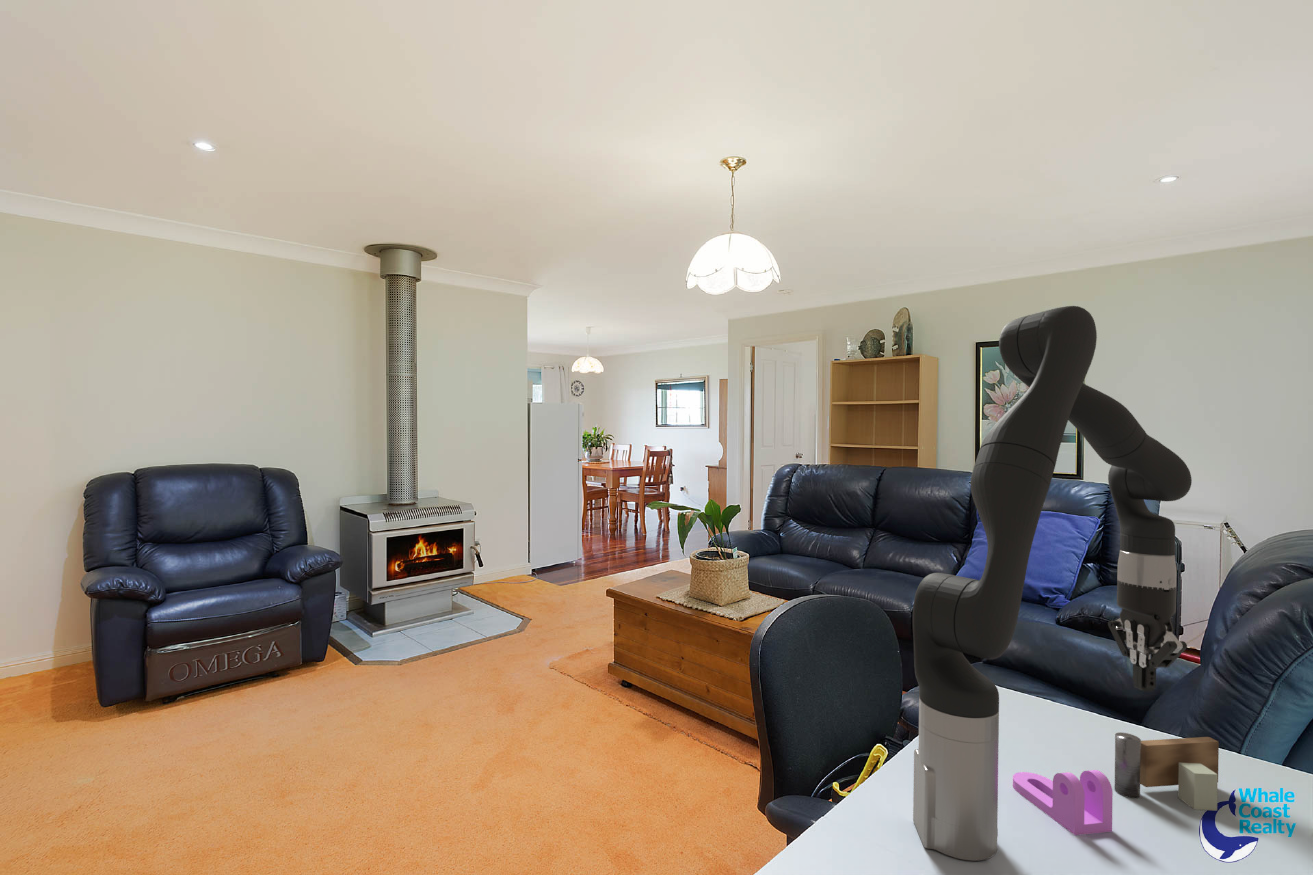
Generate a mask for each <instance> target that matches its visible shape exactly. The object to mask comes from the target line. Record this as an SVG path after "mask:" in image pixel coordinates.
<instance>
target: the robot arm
mask: <svg viewBox="0 0 1313 875" xmlns="http://www.w3.org/2000/svg"><path fill="white" fill-rule="evenodd" d="M1097 334H1098V333H1097V327H1096V322H1095V320H1094V318H1093V316H1092V313H1090V312H1089V311H1088V310H1087V309H1086V308H1083V307H1081V306H1078V305H1077V306H1076V305H1068V306H1066V305H1065V306H1062V307H1061V306H1060V307H1055V308H1051V309H1047V310H1045V311H1040V312H1035V313H1032V314H1028V315H1025V316H1022V317H1018V318H1015V319H1012V320H1011V321H1009V322H1008V323H1006V324H1005V325H1004V327H1003V328H1002V329H1001V332H1000V335H999V340H998V347H999V348H998V349H999V353H1000V356H1001V360H1002V361H1003V362H1004V365H1005V366H1006V367H1007V368H1008V370H1009V371H1010V372H1011V373H1012V374H1013V375H1014V376H1015V377H1016V378H1017V379H1019V381H1021V382H1022V383H1023V384H1025V385H1026V386H1027V388H1028V389H1027V390H1026V391H1025V393H1024V394H1022V396H1021V397H1020V399H1018V401H1017V402H1015V404H1014V405H1012V406H1011V407H1010V408H1009V409H1008V411H1006V412H1005V413H1004V414H1003V415H1002V416H1001V417H1000V418H999V420H998V421H996V423H995V424H994V425H993V426H992V427H991V429H990V430H989V431H988V432H987V434H986V435H985V436H984V438H983V440H982V442H981V444H980V447H979V451H978V454H977V456H976V460H975V462H974V466H973V469H972V472H971V476H970V484H969V486H970V492H971V493H970V494H971V496H972V499H973V503H974V506H975V509H976V510H977V514H978V516H979V518H980V521H981V523H982V526H983V529H984V532H985V536H986V541H987V553H986V559H985V560H986V561H985V564H984V569H983V571H982V572H983V573H982V575H981V578H980V579H975V578H969V577H965V576H959V575H954V574H949V573H943V572H933V573H930V574H928V575H926V576H925V577H923V579H922V580H920V583H919V585H918V586H917V589H916V591H915V594H914V598H913V603H912V604H913V606H912V633H913V635H912V636H913V638H912V639H913V660H914V661H913V662H914V665H913V666H914V674H915V679H916V681H917V684H918V695H919V697H918V699H919V700H918V749H914V751H913V793H912V794H913V798H912V800H913V801H912V802H913V807H912V811H913V812H912V813H913V814H912V820H913V823H914V826H915V828H916V831H917V833H918V836H919V838H920V840H921V843H922V845H923V847H924V848H925V849H928V850H929V849H932V850H935V851H938V852H940V853H942V854H944V855H945V856H948V857H951V858H955V859H959V860H962V861H963V860H964V861H984V860H988V859H990V858H992V857H994V855H996V853H997V851H998V837H999V834H998V833H999V832H998V831H999V830H998V815H999V813H998V812H999V810H998V809H999V808H998V806H999V798H998V797H999V746H1000V745H999V736H1000V729H999V728H1000V693H999V689H998V687H997V685H996V684H995V683H994V682H993V681H992V680H991V679H990V678H989V677H987V676H986V675H984V674H983V673H982V672H980V671H979V670H978V669H977V668H976V667H974V666H973V664H971V663H970V661H969V660H968V659H967V658H966V656H965V655H964V654H966V655H969V656H973V657H977V658H981V659H985V660H996V659H998V658H1000V657H1002V655H1003V654H1004V653H1006V651H1007V649H1008V648H1009V646H1010V644H1011V641H1012V640H1013V637H1014V633H1015V630H1016V627H1017V624H1018V618H1019V613H1020V609H1021V604H1022V603H1021V602H1022V598H1023V593H1024V592H1023V591H1024V586H1025V580H1026V574H1027V570H1028V564H1029V558H1030V554H1031V551H1032V545H1033V542H1034V538H1035V535H1036V532H1037V531H1036V530H1037V528H1038V524H1039V521H1040V518H1041V514H1042V510H1043V507H1044V503H1045V501H1046V498H1047V495H1048V492H1049V490H1050V486H1051V482H1052V478H1053V476H1054V471H1055V470H1056V464H1057V461H1058V460H1057V459H1058V455H1059V452H1060V447H1061V444H1062V441H1063V437H1064V434H1065V431H1066V428H1067V425H1068V423H1071V425H1072V426H1074V427H1075V429H1076V430H1077V431H1078V432H1079V433H1080V434H1081V436H1083V438H1084V439H1085V441H1086V442H1087V443H1088V444H1089V445H1090V446H1091V448H1092V449H1093V450H1094V452H1095V453H1096V454H1097V455H1098V457H1100V459H1101V460H1102V461H1103V462H1105V463H1106V464H1107V465H1109V466H1110V467H1109V470H1108V474H1107V480H1108V487H1109V492H1110V494H1111V497H1112V500H1113V504H1114V507H1115V510H1116V513H1117V514H1116V515H1117V518H1118V522H1119V526H1120V527H1119V528H1120V530H1119V532H1120V533H1119V534H1120V536H1119V538H1120V539H1119V541H1120V542H1119V547H1120V548H1119V555H1118V560H1117V575H1116V576H1117V581H1116V583H1117V584H1116V587H1117V588H1116V593H1117V594H1116V605H1117V606H1118V607H1119V608H1121V611H1120V612H1119V618H1118V619H1115V620H1108V622H1107V626H1108V628H1109V630H1110V632H1111V635H1112V637H1113V638H1114V641H1115V642H1116V644H1117V646H1118V649H1119V651H1120V653H1121V655H1122V656H1123V657H1127V658H1128V659H1129V660H1130V662H1131V664H1132V682H1133V687H1134V688H1136V689H1138V690H1141V691H1143V692H1153V691H1154V690H1155V689H1156V686H1157V682H1156V681H1157V669H1158V668H1165V669H1166V668H1168V669H1169V667H1170V666H1171V665H1172V664H1173V663H1174V662H1175V661H1176V660H1177V659H1178V658H1179V657H1180V656H1181V655H1182V653H1184V652H1185V651H1186V649H1187V648H1188V644H1187V643H1186V641H1185V640H1179V639H1178V638H1177V637H1176V635H1174V633H1173V631H1174V627H1173V626H1174V625H1173V624H1172V620H1171V618H1172V616H1173V615H1175V614H1176V612H1177V574H1178V573H1177V564H1176V555H1175V554H1176V525H1175V522H1174V521H1172V519H1170V518H1168V517H1165V516H1162V515H1160V514H1159V515H1158V514H1157V513H1154V512H1152V511H1150V510H1149V509H1148V507H1147V505H1146V502H1145V500H1147V501H1157V502H1175V501H1178V500H1181V499H1182V498H1184V497H1185V496H1186V495H1187V494H1188V493H1189V492H1190V490H1191V487H1192V479H1193V478H1192V474H1191V472H1190V469H1189V467H1188V466H1187V464H1186V463H1185V461H1184V460H1183V459H1182V457H1180V456H1179V455H1178V454H1176V453H1175V452H1174V451H1172V450H1171V449H1170V448H1168V447H1167V446H1166V445H1165V444H1162V443H1161V442H1160V441H1158V440H1157V439H1156V438H1153V437H1152V436H1150V435H1148V434H1147V432H1146V431H1145V429H1144V428H1143V427H1142V425H1141V424H1140V423H1139V421H1138V420H1137V418H1135V416H1134V415H1133V414H1132V412H1130V410H1129V409H1128V408H1127V407H1125V405H1124V404H1122V403H1121V402H1120V401H1118V400H1116V399H1114V397H1112V396H1109V395H1107V394H1106V393H1103V392H1102V391H1099V390H1098V389H1095V387H1094V388H1093V387H1091V386H1090V385H1088V384H1086V383H1084V381H1085V379H1086V377H1087V374H1088V371H1089V370H1090V367H1091V364H1092V362H1093V359H1094V355H1095V350H1096V349H1097V348H1096V347H1097V340H1098V339H1097V338H1098V337H1097V336H1098V335H1097Z"/></svg>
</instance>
